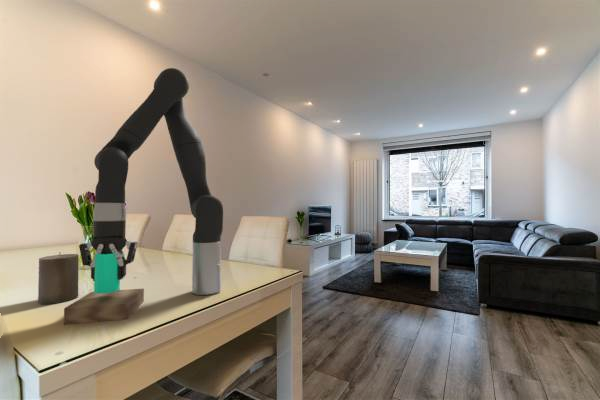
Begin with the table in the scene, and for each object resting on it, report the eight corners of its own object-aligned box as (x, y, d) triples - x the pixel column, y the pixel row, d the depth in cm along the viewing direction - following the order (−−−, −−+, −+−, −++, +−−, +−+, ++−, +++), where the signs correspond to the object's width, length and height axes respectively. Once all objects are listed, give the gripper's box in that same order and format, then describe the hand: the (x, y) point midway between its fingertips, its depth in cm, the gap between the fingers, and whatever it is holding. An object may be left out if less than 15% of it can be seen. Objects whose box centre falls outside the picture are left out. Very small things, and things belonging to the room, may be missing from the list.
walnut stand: (143, 301, 85) (143, 288, 86) (127, 319, 72) (127, 303, 72) (91, 305, 82) (91, 291, 82) (63, 324, 68) (64, 308, 69)
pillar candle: (84, 297, 90) (85, 250, 91) (47, 306, 81) (48, 255, 82) (68, 293, 94) (69, 249, 95) (30, 302, 85) (32, 253, 86)
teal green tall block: (106, 294, 73) (107, 249, 74) (88, 292, 75) (89, 248, 75) (125, 288, 79) (126, 246, 80) (107, 286, 81) (108, 245, 81)
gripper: (142, 218, 83) (141, 275, 83) (87, 219, 80) (85, 278, 79) (133, 219, 76) (132, 281, 75) (72, 220, 72) (71, 285, 72)
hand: (108, 279), depth 77 cm, fingers closed on teal green tall block, 5 cm apart
